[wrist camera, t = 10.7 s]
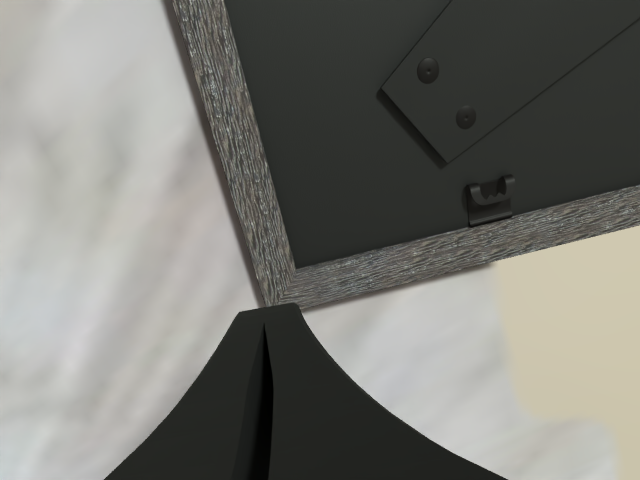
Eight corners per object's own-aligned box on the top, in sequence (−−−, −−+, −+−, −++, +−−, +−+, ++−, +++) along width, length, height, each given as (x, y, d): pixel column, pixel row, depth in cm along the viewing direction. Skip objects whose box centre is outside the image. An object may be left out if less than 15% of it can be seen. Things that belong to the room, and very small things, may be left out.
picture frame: (753, -250, 16) (144, -111, 16) (817, -287, 14) (129, -131, 14) (700, 192, 22) (268, 298, 22) (740, 205, 21) (269, 322, 20)
